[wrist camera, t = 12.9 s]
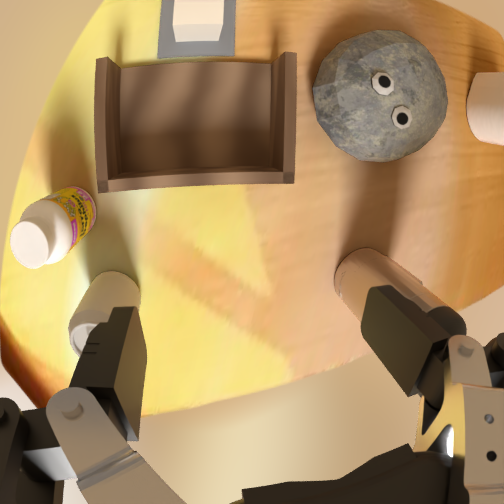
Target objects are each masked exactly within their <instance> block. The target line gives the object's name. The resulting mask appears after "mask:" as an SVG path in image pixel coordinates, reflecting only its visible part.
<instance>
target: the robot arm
mask: <svg viewBox="0 0 504 504" xmlns="http://www.w3.org/2000/svg"><path fill="white" fill-rule="evenodd" d="M334 286H335V290H336V292H337V294H338V295H339V297H340V298H341V299H342V300H343V301H344V303H345V304H346V305H347V306H348V308H349V309H350V310H351V311H352V312H353V314H354V315H355V316H356V317H357V319H358V320H359V321H360V322H361V333H362V336H363V338H364V339H365V341H366V342H367V343H368V344H369V346H370V347H371V348H372V350H373V351H374V352H375V354H376V355H377V356H378V358H379V359H380V360H381V361H382V363H383V364H384V365H385V367H386V368H387V370H388V371H389V372H390V373H391V375H392V376H393V378H394V379H395V380H396V382H397V383H398V384H399V386H400V387H401V388H402V390H403V391H404V392H405V394H406V395H407V396H408V397H410V396H412V395H415V394H419V396H420V397H421V399H420V402H419V412H418V423H417V431H416V439H415V444H414V447H413V449H411V447H410V446H409V444H408V443H407V444H405V445H403V446H401V447H398V448H396V449H393V450H391V451H389V452H386V453H383V454H381V455H378V456H376V457H374V458H372V459H371V460H369V461H368V462H366V463H365V464H363V465H362V466H360V467H358V468H357V469H355V470H354V471H352V472H350V473H349V474H347V475H345V476H344V477H342V478H340V479H337V480H327V481H302V482H300V481H298V482H284V483H279V484H273V485H267V486H261V487H255V488H247V489H242V499H241V500H238V501H235V502H232V503H230V504H504V333H500V334H499V335H498V336H497V337H496V338H494V339H492V340H491V341H490V342H489V343H488V344H487V345H486V346H485V347H482V345H481V344H480V343H479V342H478V341H476V340H475V339H473V338H471V337H469V336H466V324H465V322H464V320H463V318H462V317H461V316H460V315H459V314H458V313H456V312H455V311H454V310H453V309H452V308H450V307H449V306H448V305H447V304H445V303H444V302H443V301H442V300H440V299H439V298H438V297H437V296H435V295H434V294H433V293H431V292H430V291H429V290H428V289H426V288H425V287H424V286H423V284H422V282H421V281H420V280H419V279H418V278H416V277H415V276H414V275H412V274H411V273H410V272H408V271H407V270H406V269H404V268H403V267H402V266H400V265H399V264H398V263H396V262H395V261H394V260H392V259H391V258H389V257H388V256H383V255H382V254H380V253H379V252H378V251H376V250H374V249H371V248H362V249H358V250H356V251H354V252H352V253H351V254H349V255H348V256H347V257H346V258H345V259H344V260H343V261H342V262H341V264H340V265H339V267H338V269H337V271H336V274H335V278H334ZM146 364H147V350H146V344H145V339H144V335H143V331H142V326H141V322H140V317H139V312H138V309H137V307H136V306H124V307H113V309H112V312H111V314H110V317H109V319H108V322H100V323H99V324H98V325H97V326H96V327H95V328H94V329H92V330H91V331H90V333H89V336H88V338H87V340H86V345H84V348H83V350H82V354H81V355H80V358H79V361H78V363H77V366H76V369H75V371H74V374H73V377H72V379H71V382H70V385H69V388H66V389H63V390H61V391H59V392H57V393H56V394H54V395H53V396H52V397H51V399H50V400H49V402H48V404H47V407H45V408H40V409H34V410H26V411H21V410H20V408H19V407H18V406H17V404H16V403H15V402H14V401H13V400H11V399H9V398H0V504H62V502H63V489H64V480H66V479H73V478H78V481H77V485H78V487H79V489H80V491H81V493H82V494H83V496H84V498H85V499H86V501H87V502H88V504H186V503H185V502H184V501H183V500H182V499H181V498H180V497H179V496H178V495H177V494H176V493H175V492H174V491H173V490H172V489H171V488H170V487H169V486H168V485H167V484H166V483H165V482H164V481H163V480H162V479H161V478H160V476H159V475H158V474H157V473H156V472H155V471H154V470H153V469H152V468H151V466H150V465H149V464H148V463H147V462H146V461H145V460H144V458H143V457H142V456H141V455H140V454H139V453H138V452H137V451H134V450H133V449H132V448H131V447H130V446H129V444H128V443H127V441H139V428H140V417H141V406H142V397H143V388H144V380H145V372H146Z"/></svg>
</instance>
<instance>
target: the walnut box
mask: <svg viewBox="0 0 504 504" xmlns="http://www.w3.org/2000/svg"><path fill="white" fill-rule="evenodd" d="M296 97H297V53H293V52H284V53H283V54H282V55H281V56H279V57H278V58H277V59H276V60H275V61H274V62H273V63H271V64H264V63H247V62H187V63H169V64H157V65H147V66H138V67H130V68H122V69H121V68H120V67H119V66H117V65H116V64H115V63H114V62H113V61H112V60H110V59H109V58H108V57H104V58H99V59H96V71H95V95H94V133H95V158H96V173H97V186H98V193H106V192H116V191H126V190H138V189H151V188H165V187H182V186H201V185H228V184H294V175H295V145H296Z"/></svg>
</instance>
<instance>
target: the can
mask: <svg viewBox="0 0 504 504" xmlns="http://www.w3.org/2000/svg"><path fill="white" fill-rule="evenodd" d="M140 304H141V295H140V291H139V288H138V287H137V285H136V284H135V282H134V281H133V280H132V279H130V278H129V277H128V276H127V275H124V274H122V273H120V272H115V271H108V272H103V273H101V274H99V275H98V276H96V277H95V279H94V280H93V281H92V283H91V284H90V286H89V288H88V290H87V291H86V293H85V295H84V296H83V298H82V300H81V302H80V303H79V305H78V307H77V309H76V311H75V312H74V314H73V316H72V318H71V320H70V323H69V327H68V329H69V336H70V337H69V338H70V344H71V346H72V348H73V350H74V352H75V353H76V354H77V355H78V356H79V357H80V355H81V354H82V350H83V348H84V345H86V340H87V338H88V336H89V333H90V331H91V330H92V329H94V328H95V327H96V326H97V325H98V324H99V323H100V322H108V319H109V317H110V314H111V312H112V309H113V307H124V306H136V307H137V309H138V311H139V308H140Z"/></svg>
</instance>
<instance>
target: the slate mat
mask: <svg viewBox="0 0 504 504" xmlns="http://www.w3.org/2000/svg"><path fill="white" fill-rule="evenodd" d="M174 1H175V0H162V5H161V16H160V27H159V41H158V58H171V57H190V56H234V47H235V9H236V0H224V13H223V26H222V30H221V33H220V37H219V41H186V42H176V40H175V35H174V30H173V13H174Z"/></svg>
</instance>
